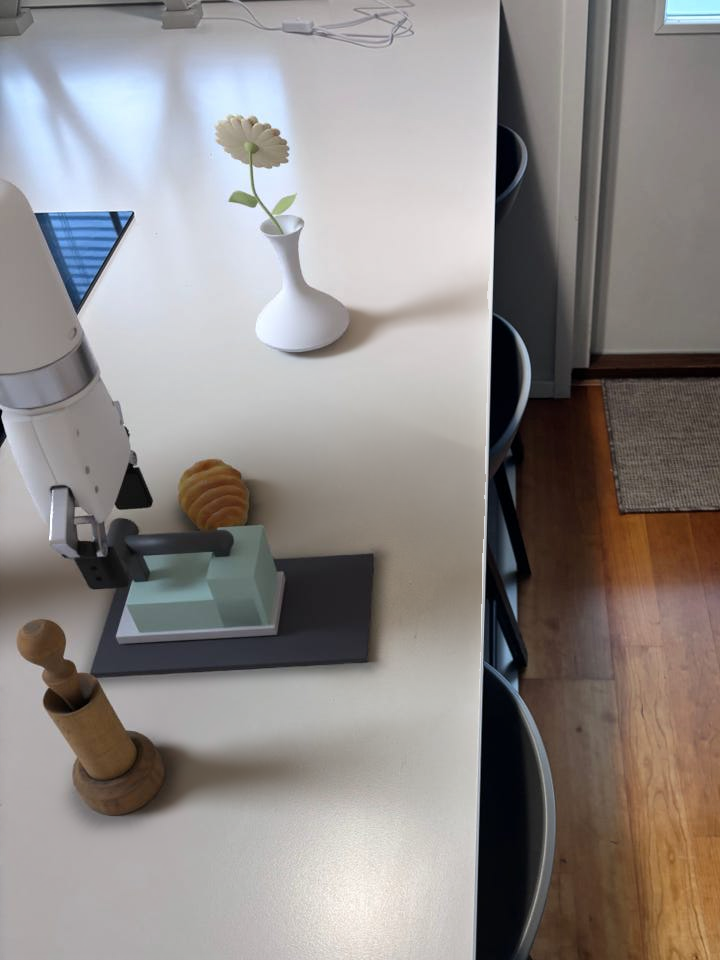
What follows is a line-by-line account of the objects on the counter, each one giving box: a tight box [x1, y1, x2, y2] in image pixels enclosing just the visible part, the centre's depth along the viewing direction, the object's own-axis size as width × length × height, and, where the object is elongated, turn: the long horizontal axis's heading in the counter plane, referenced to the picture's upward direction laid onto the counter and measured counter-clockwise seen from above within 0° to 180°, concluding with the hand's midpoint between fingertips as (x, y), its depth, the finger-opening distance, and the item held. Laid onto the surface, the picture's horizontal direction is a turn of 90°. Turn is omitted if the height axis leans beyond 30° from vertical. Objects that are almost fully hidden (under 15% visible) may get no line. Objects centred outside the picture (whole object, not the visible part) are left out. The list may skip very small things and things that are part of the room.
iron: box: [106, 517, 285, 644], centre depth 85 cm, size 14×7×10 cm, turn 91°
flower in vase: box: [213, 113, 351, 353], centre depth 111 cm, size 13×11×25 cm
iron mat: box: [89, 552, 375, 678], centre depth 89 cm, size 24×13×1 cm, turn 92°
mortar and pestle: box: [15, 618, 165, 816], centre depth 71 cm, size 7×6×18 cm
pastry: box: [177, 458, 250, 531], centre depth 97 cm, size 9×7×4 cm
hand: (123, 544), depth 82 cm, fingers open, 9 cm apart
